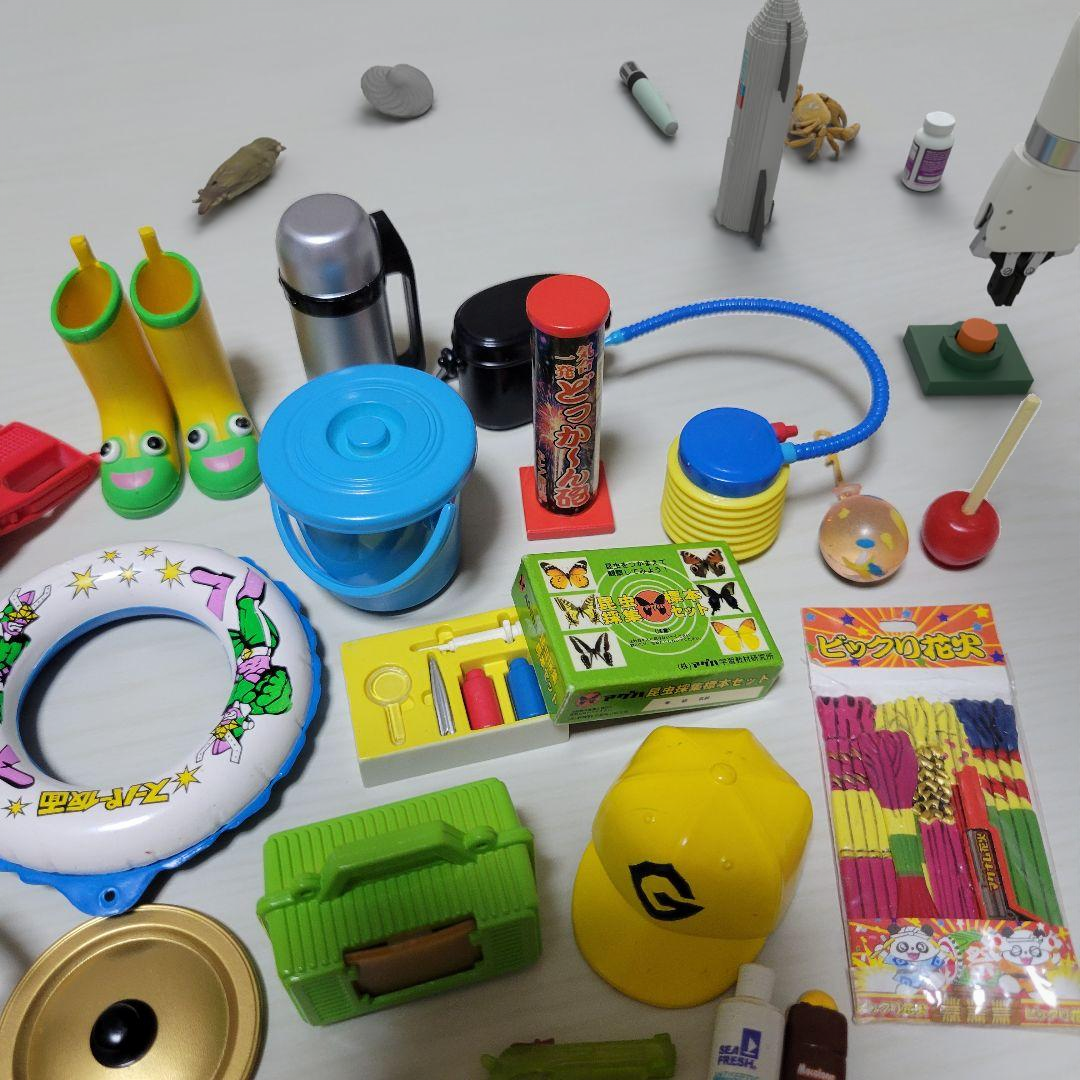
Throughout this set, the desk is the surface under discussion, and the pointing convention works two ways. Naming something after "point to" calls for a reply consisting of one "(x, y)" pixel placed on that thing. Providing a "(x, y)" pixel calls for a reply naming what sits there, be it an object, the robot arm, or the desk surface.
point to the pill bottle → (929, 152)
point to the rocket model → (761, 117)
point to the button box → (965, 363)
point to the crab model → (818, 121)
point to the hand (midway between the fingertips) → (998, 298)
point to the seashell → (397, 90)
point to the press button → (977, 335)
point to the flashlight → (648, 97)
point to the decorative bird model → (239, 172)
